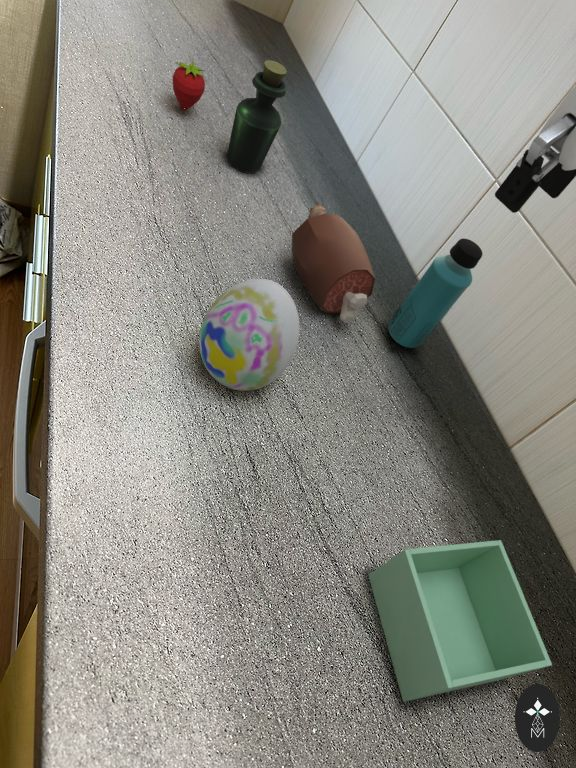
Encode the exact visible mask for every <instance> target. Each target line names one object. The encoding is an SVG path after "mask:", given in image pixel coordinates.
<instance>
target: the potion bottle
mask: <svg viewBox="0 0 576 768" xmlns="http://www.w3.org/2000/svg"><path fill="white" fill-rule="evenodd" d="M287 72H288V71H287V69H286V67H285V66H284V65H282V64H281V63H279V62H277V61H275V60H271V59H269V60H267V59H266V60H265V61H264V63H263V70H262V71H258V72H257V73H256V74H255V75H254V76H253V78H252V80H251V83H252V86H253V87H254V88H255V89H256V91H255V93H256V94H255V97H246V98H243V99H242V100H241V101H240V102H238V104H237V106H236V108H235V114H234V119H233V123H232V128H231V133H230V137H229V143H228V147H227V148H228V149H227V153H226V158H227V162H228V163H229V164H230V166H231V167H233V168H235V169H236V170H237V171H239V172H242V173H247V174H253V173H255V174H256V173H257V172H258V171H260V170H261V168H262V166H263V164H264V161H265V160H266V157H267V155H268V153H269V151H270V149H271V147H272V145H273V143H274V141H275V139H276V136H277V135H278V132H279V131H280V129H281V125H282V116H281V114H280V112H279V110H277V108H276V106H274V103H275V102H276V100H277V99H282V98H283V97H285V96H286V92H287V86H286V83H285V82H284V81H283V79H284V77H285V76H286V74H287Z"/></svg>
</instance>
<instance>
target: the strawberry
mask: <svg viewBox="0 0 576 768" xmlns="http://www.w3.org/2000/svg"><path fill="white" fill-rule="evenodd" d="M189 58H190V60H191V61H192V62H191V63H189V65H188V64H187V63H183V62H181V61H180V62H175V65H178V67H177V68H175V70H174V72H173V74H172V77H171V78H172V90H173V93H174V95H175V98H176V100H177V103H178V105H179V107H180V110H182V111H183V112H187V111H188V110H189V109H190V108H192V107H194V106H195V105H196V104H197V103H198V102H199V101H200V100H201V98H202V97H203V95H204V93H205V90H206V80H205V78H204V77H205V76H204V75H203V74H202V73H201V72H206V70H204V69H202V68H200V67H197V66H195V62H194V60H193V58H192V56H189ZM184 108H185V109H184Z"/></svg>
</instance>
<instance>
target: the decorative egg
mask: <svg viewBox="0 0 576 768" xmlns="http://www.w3.org/2000/svg"><path fill="white" fill-rule="evenodd" d="M199 331H200V332H199V337H198V338H199V339H198V345H199V353H200V357H201V361H202V363H203V365H204V367H205V369H206V371H207V372H208V373H209V374H210V376H211V377H212V378H213V379H214V380H215V381H216V382H217V383H219V384H220V385H222V386H224V387H226V388H227V389H231V390H236V391H242V392H248V391H254V390H259V389H262V388H264V387H266V386H269V385H270V384H272V383H274V382H275V381H276V380H277V379H279V378H280V377H281V376H282V375H283V374H284V372H285V371H286V370H287V369H288V367H289V366H290V365H291V362H292V360H293V359H294V356H295V354H296V352H297V348H298V345H299V338H300V317H299V313H298V309H297V307H296V304H295V302H294V299H293V298H292V296H291V295H290V293H289V292H288V291H287V290H286V289H285V288H284V287H283V286H282V285H281V284H280V283H278V282H276V281H273V280H271V279H266V278H252V279H247V280H244V281H241V282H238V283H236V284H234V285H232V286H231V287H229V288H227V289H226V290H225V291H223V293H222V294H221V295H219V297H218V298H216V300H215V301H213V303H212V304H211V306H210V307H209V308H208V310H207V312H206V314H205V316H204V318H203V321H202V325H201V327H200V330H199Z"/></svg>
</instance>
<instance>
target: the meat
mask: <svg viewBox="0 0 576 768" xmlns="http://www.w3.org/2000/svg"><path fill="white" fill-rule="evenodd" d="M326 211H327V210H326V209H325V208H324V207H323V206H321V205H320V204H318V205H315V206H313V207H311V208H310V209H309V213H308V218H306V219H305V220H304V221H303V222H302V223H301V224H300V225H299V226H298V227H297V228H296V229H295V230H294V231H293V232H292V233H291V254H292V260H293V266H294V269H295V271H296V273H297V275H298V278H299V279H300V281H301V283H302V285H303V286H304V288H305V289H306V291H307V292H308V294H309V295H310V296H311V298H312V299H313V301H314V302H315V303H316V305H317V306H318V308H319V309H320V310H322V311H323V312H325V313H326V314H339V319H340V320H341V321H342V322H344V323H346V324H348V323H350V322H353V321H356V320H357V317H358V314H359V310H360V309H362V308H363V307H365V306H366V305H367V304H368V298H370V297H371V296H372V294H373V291H374V286H375V281H376V277H375V273H374V271H373V266H372V264H371V261H370V259H369V256H368V253H367V251H366V249H365V245H364V244H363V243H362V240H361V238H360V236H359V235H358V233H357V231H356V230H354V229H353V227H352V226H351V225H350V224H349V223H347V221H346V220H344V219H343V218H342V217H341V216H340V215H339V214H333V213H332V214H331V213H326Z"/></svg>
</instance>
